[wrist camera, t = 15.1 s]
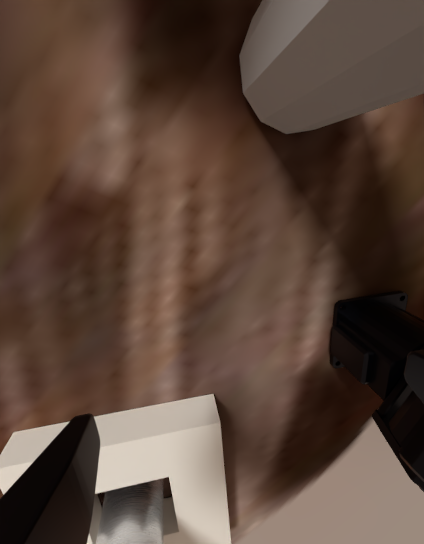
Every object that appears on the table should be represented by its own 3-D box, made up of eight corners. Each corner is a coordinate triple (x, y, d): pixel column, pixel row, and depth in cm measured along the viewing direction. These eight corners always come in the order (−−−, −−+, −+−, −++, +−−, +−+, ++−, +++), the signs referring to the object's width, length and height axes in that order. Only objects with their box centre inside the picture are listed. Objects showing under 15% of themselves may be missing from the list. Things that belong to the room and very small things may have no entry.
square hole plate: (213, 393, 24) (220, 422, 21) (224, 513, 29) (231, 549, 26) (13, 432, 21) (-9, 470, 19) (65, 554, 27) (54, 598, 24)
